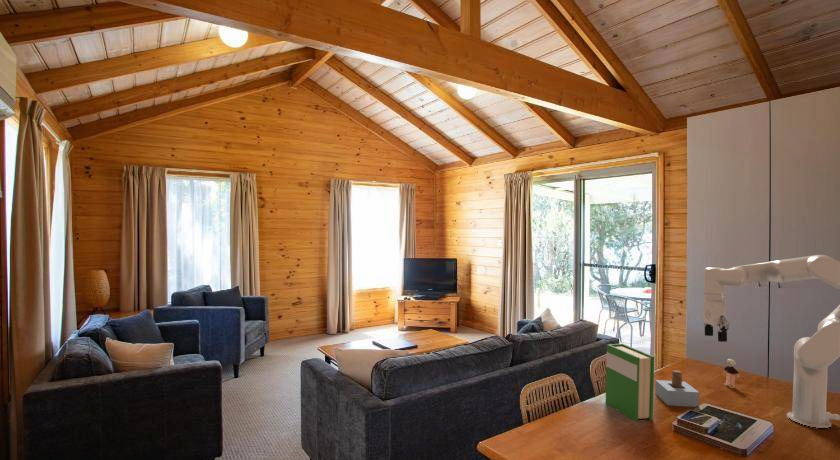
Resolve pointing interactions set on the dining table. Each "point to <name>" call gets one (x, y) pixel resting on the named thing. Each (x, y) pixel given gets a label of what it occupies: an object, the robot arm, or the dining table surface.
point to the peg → (676, 379)
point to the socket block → (677, 394)
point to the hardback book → (630, 381)
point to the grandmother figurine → (730, 373)
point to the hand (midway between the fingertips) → (715, 338)
